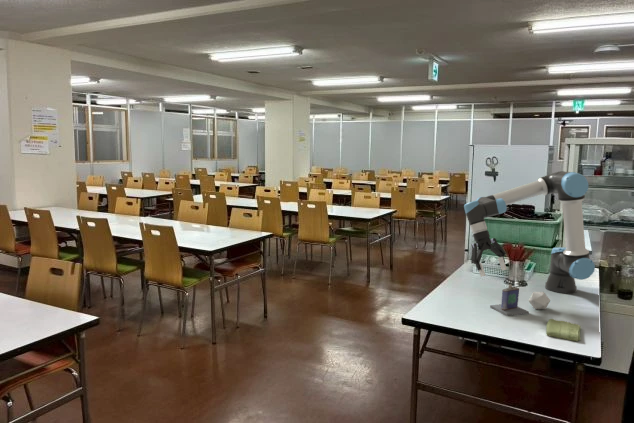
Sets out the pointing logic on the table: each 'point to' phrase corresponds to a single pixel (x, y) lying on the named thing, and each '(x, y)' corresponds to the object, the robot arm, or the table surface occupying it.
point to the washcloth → (563, 330)
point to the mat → (509, 312)
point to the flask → (510, 298)
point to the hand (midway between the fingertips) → (494, 273)
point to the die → (539, 300)
